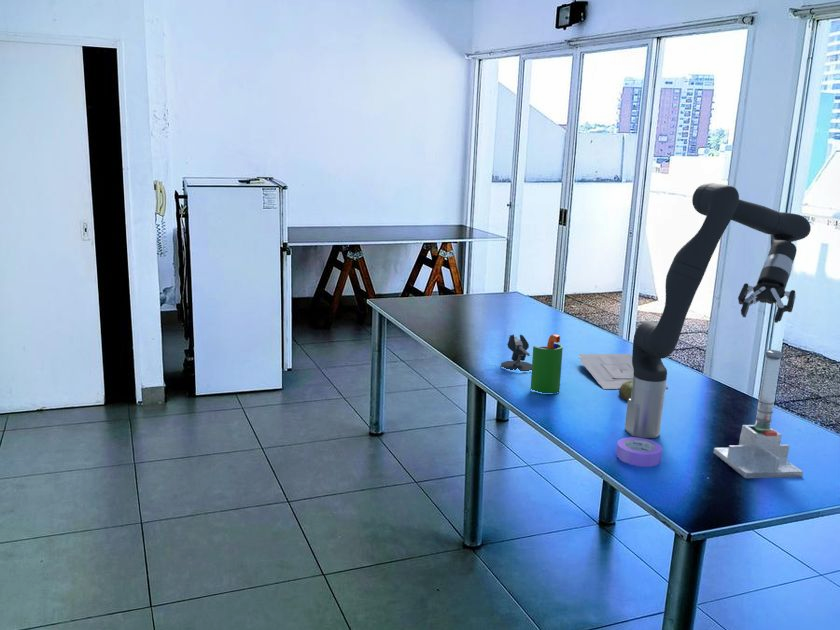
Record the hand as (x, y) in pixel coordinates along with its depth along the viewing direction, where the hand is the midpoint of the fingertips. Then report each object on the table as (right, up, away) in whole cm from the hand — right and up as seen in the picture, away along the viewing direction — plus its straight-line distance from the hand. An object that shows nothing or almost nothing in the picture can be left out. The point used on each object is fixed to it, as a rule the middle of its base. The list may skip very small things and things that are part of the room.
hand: (759, 318), depth 212 cm
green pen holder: (-52, -25, +45) cm, 73 cm away
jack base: (-4, -39, -8) cm, 40 cm away
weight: (-22, -27, +42) cm, 55 cm away
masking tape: (-36, -38, -6) cm, 53 cm away
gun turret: (-58, -20, +66) cm, 90 cm away
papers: (-22, -22, +65) cm, 72 cm away
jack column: (-4, -31, -10) cm, 33 cm away
